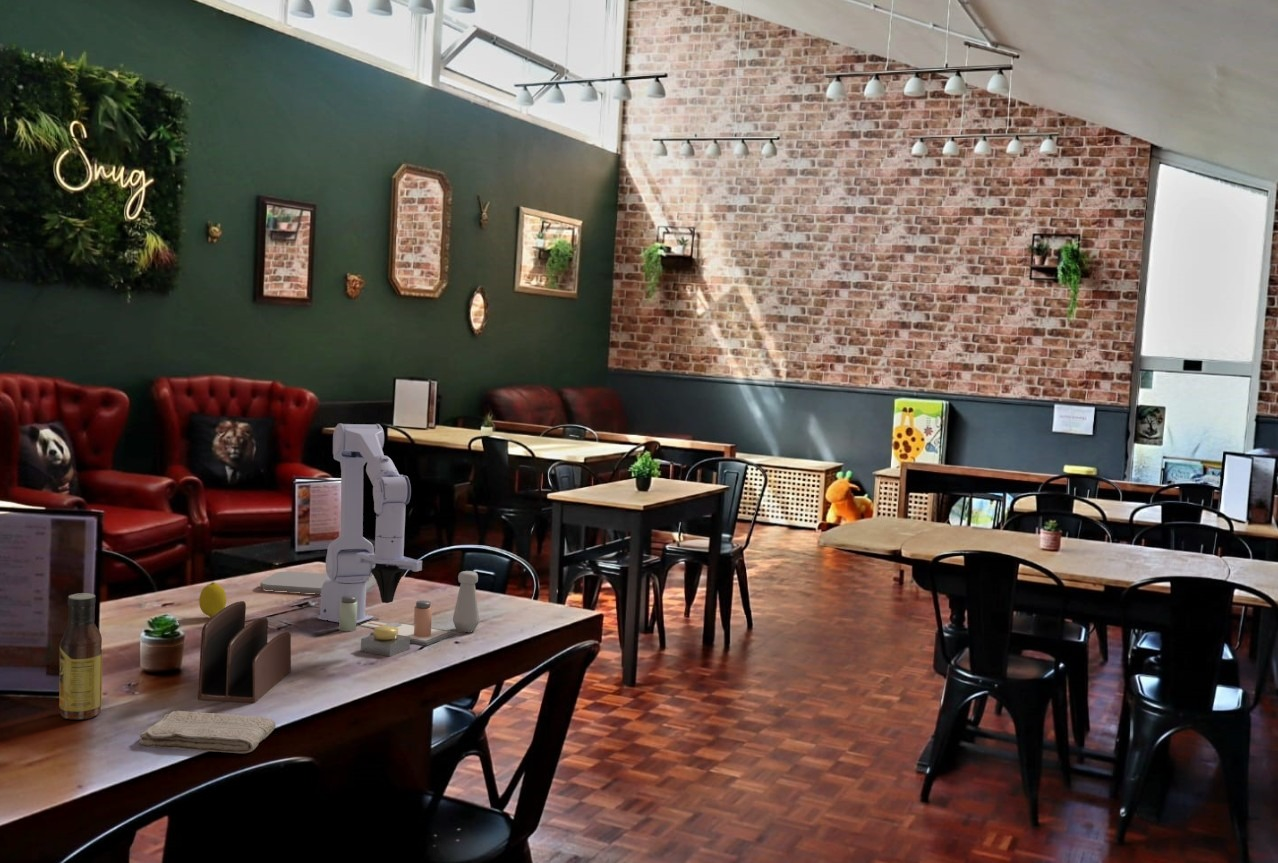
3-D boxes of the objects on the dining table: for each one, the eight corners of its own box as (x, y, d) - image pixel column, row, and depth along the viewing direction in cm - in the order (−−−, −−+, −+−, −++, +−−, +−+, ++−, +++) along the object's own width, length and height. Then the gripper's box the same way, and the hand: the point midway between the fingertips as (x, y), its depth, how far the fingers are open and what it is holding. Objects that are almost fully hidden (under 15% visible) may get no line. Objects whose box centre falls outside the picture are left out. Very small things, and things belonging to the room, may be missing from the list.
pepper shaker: (411, 635, 248) (411, 603, 247) (417, 631, 252) (418, 599, 251) (427, 637, 247) (428, 605, 247) (433, 633, 251) (434, 601, 250)
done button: (368, 647, 238) (369, 629, 237) (382, 642, 242) (383, 624, 242) (388, 651, 236) (389, 633, 235) (402, 645, 240) (402, 628, 240)
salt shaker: (473, 634, 255) (476, 575, 254) (448, 632, 256) (451, 573, 255) (482, 628, 260) (485, 570, 259) (458, 625, 262) (460, 568, 261)
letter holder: (197, 701, 201) (199, 620, 200) (239, 668, 221) (241, 595, 220) (254, 704, 201) (257, 623, 200) (291, 672, 221) (294, 598, 220)
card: (360, 625, 257) (360, 624, 257) (371, 622, 261) (371, 620, 260) (379, 629, 255) (379, 627, 255) (390, 625, 259) (390, 623, 259)
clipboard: (368, 635, 249) (369, 630, 249) (398, 624, 260) (398, 619, 259) (426, 645, 244) (426, 640, 244) (454, 634, 254) (455, 629, 254)
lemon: (193, 619, 255) (194, 582, 254) (211, 614, 260) (212, 578, 259) (213, 622, 253) (214, 586, 252) (231, 617, 258) (232, 581, 257)
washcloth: (167, 724, 190) (168, 705, 190) (278, 731, 190) (278, 712, 189) (134, 750, 178) (135, 730, 178) (252, 757, 178) (253, 737, 178)
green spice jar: (335, 629, 252) (336, 597, 252) (345, 626, 256) (347, 594, 255) (349, 632, 251) (351, 599, 251) (359, 628, 254) (360, 596, 254)
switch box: (360, 651, 237) (361, 638, 237) (381, 643, 244) (381, 631, 243) (389, 656, 234) (390, 644, 234) (409, 648, 241) (410, 636, 241)
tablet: (362, 600, 283) (362, 590, 283) (256, 593, 284) (256, 583, 284) (380, 586, 299) (380, 577, 299) (279, 579, 300) (279, 570, 300)
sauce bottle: (68, 708, 193) (70, 589, 192) (107, 709, 194) (110, 591, 192) (51, 721, 187) (53, 598, 185) (92, 722, 187) (94, 600, 186)
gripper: (348, 534, 236) (345, 600, 237) (409, 542, 231) (406, 610, 232) (369, 529, 243) (366, 594, 244) (428, 537, 237) (426, 604, 238)
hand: (387, 601), depth 238 cm, fingers closed
